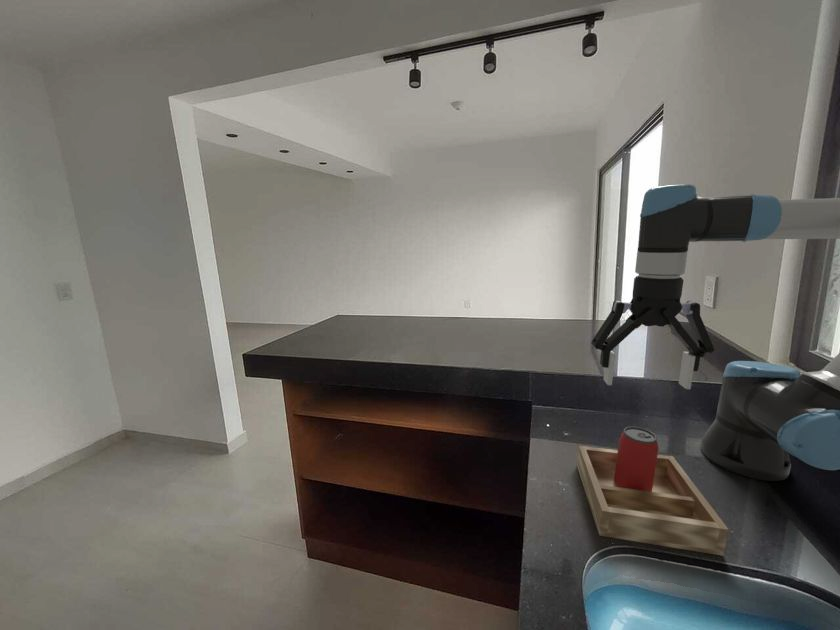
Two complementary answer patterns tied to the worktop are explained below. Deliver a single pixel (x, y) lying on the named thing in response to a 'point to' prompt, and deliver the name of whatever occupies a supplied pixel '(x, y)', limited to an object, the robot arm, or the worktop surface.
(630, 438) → the beer can
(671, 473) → the crate
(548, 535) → the worktop surface
